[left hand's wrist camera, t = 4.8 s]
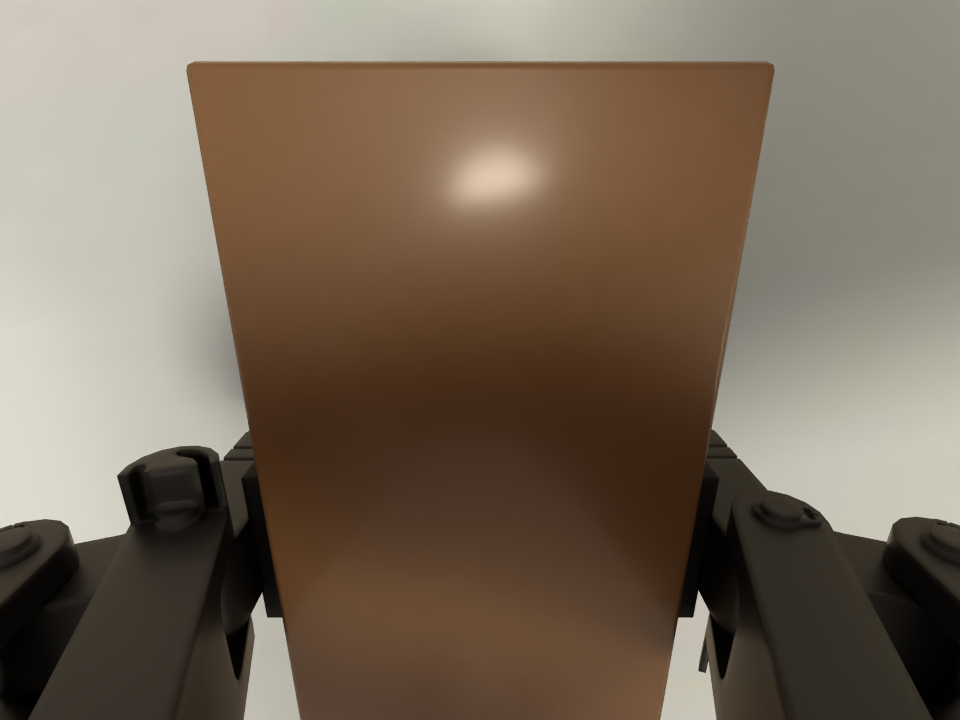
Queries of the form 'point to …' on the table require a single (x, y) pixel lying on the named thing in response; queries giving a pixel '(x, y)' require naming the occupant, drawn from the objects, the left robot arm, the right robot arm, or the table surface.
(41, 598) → the left robot arm
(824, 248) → the table surface
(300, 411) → the post
